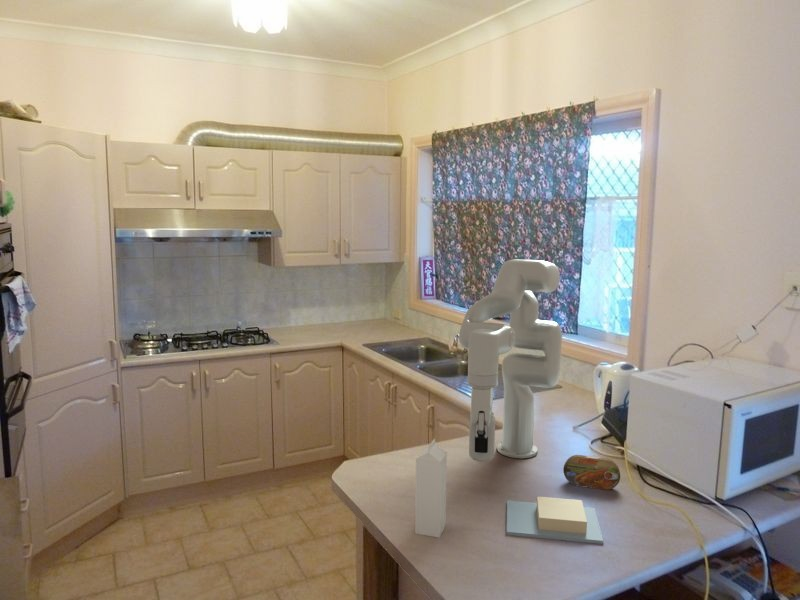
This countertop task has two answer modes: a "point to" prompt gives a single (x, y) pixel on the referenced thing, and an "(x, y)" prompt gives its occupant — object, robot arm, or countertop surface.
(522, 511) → the board
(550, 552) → the countertop surface
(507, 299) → the robot arm
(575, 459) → the tin
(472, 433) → the beverage can
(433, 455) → the milk
